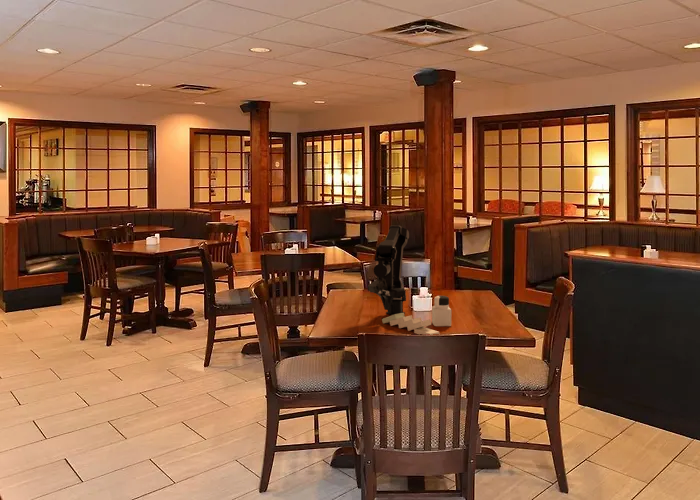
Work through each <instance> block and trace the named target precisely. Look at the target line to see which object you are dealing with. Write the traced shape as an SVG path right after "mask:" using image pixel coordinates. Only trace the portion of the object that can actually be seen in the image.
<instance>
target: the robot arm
mask: <svg viewBox="0 0 700 500" xmlns="http://www.w3.org/2000/svg"><path fill="white" fill-rule="evenodd" d="M409 238H410V231H409V230H408V229H407V228H404V227H402V226H401V225H393V224H392V225H390V226H389V229H388V233H387V235H386V237H385V239H384V240H383V241H381V242H380V243H379V244H378V246H377V248H376V251H375V252H376V253H375V257H374V262H378V263H377V264H376V265H374V266H373V267H374V268H373V274H374V275H375V277H376V280H374V281H372V282H371V283H369V284H368V285H367V291H368V292H370V293H373V294H376V295H377V296H378V297H380V299H381V300H380V301H381V303H382V305H383V308H384V310H386V312H385V314H388V315H390V316H392V315H394V314H399V313H404V315H405V314H406V312H405V311H404V302H406V301H407V295H406V293H407V292H406V289H405V287H404V283H403V282H402V279H401V278H402V266H403V255H404V254H403V253H404V248H405V247H406V246H407V244H408V240H409Z"/></svg>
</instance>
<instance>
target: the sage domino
mask: <svg viewBox="0 0 700 500" xmlns="http://www.w3.org/2000/svg"><path fill="white" fill-rule="evenodd" d="M402 317H406V316H405V314H404V313H399V314H394V315H390V316H387V317H384V318H382V319H381V321H382V324H389V323H390V321H392V320H395V319H399V318H402Z"/></svg>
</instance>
